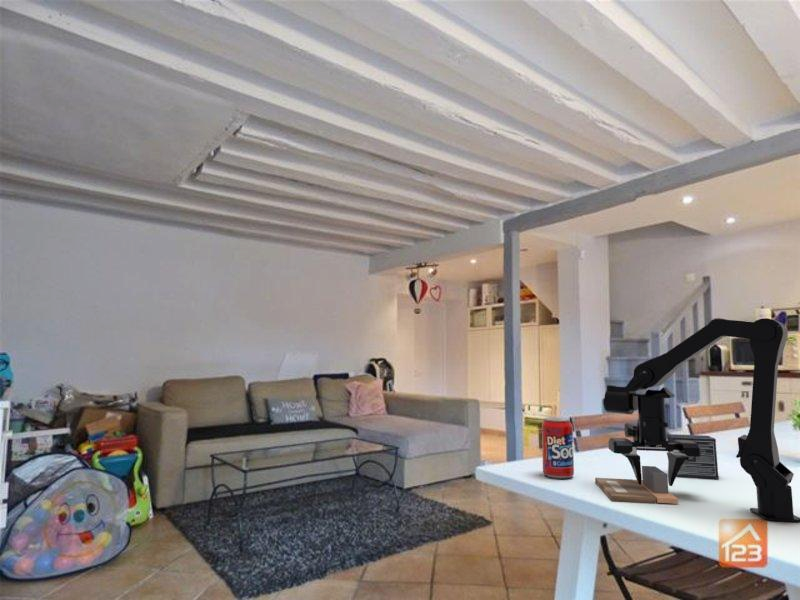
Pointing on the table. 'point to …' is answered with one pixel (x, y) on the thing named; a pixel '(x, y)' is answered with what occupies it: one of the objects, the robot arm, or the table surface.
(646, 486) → the stub
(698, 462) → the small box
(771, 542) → the table surface
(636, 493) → the brown flat board
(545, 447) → the soda can
